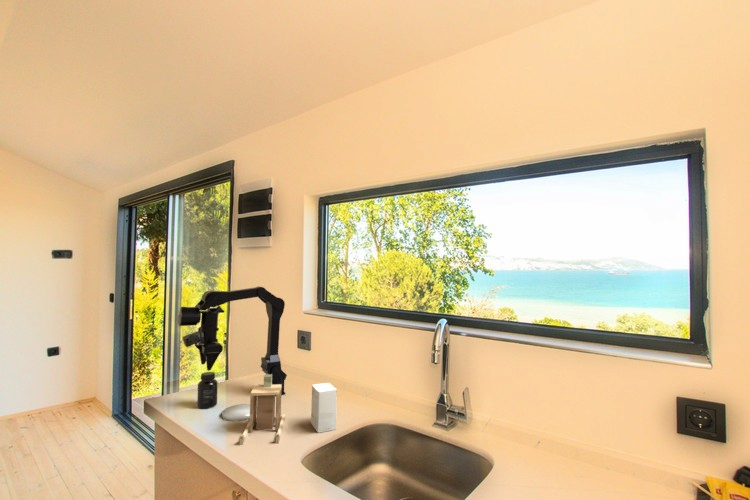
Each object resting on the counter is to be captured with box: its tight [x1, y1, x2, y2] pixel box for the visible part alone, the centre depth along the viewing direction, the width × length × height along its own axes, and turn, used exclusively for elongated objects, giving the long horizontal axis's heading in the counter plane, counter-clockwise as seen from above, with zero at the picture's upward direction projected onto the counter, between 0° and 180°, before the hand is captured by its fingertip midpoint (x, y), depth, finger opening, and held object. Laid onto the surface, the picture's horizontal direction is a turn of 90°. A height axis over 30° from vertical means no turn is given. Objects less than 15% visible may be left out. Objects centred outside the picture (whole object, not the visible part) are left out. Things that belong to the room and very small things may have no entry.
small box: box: [310, 382, 338, 434], centre depth 123 cm, size 8×6×13 cm
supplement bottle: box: [196, 371, 219, 410], centre depth 138 cm, size 7×7×12 cm
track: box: [239, 414, 286, 446], centre depth 119 cm, size 18×11×2 cm, turn 8°
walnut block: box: [256, 395, 276, 431], centre depth 122 cm, size 5×5×11 cm
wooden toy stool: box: [248, 374, 282, 433], centre depth 122 cm, size 8×9×16 cm
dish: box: [221, 403, 250, 422], centre depth 131 cm, size 12×12×1 cm
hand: (205, 367), depth 136 cm, fingers open, 9 cm apart
